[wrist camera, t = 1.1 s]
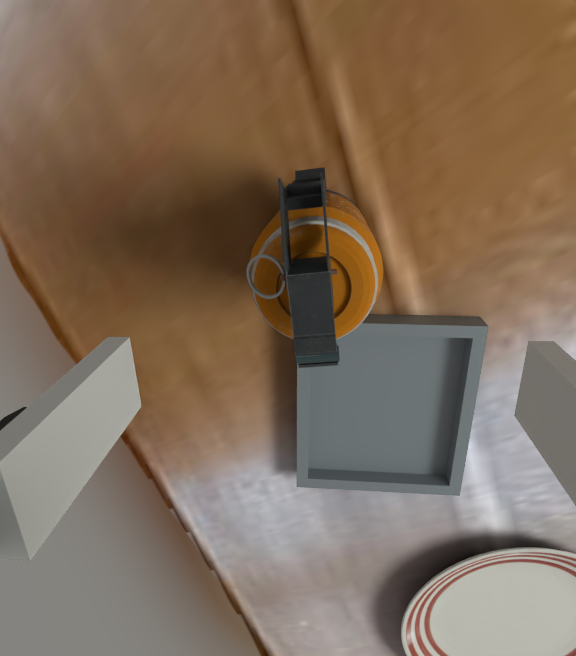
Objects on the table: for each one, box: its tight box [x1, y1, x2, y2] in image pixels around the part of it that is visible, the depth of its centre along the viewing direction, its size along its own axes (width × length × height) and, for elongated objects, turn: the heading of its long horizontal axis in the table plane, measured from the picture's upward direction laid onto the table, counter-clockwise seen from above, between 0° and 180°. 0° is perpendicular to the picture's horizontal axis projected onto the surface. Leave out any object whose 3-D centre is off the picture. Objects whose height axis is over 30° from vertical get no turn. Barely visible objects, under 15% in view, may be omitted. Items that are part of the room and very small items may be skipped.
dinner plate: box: [401, 547, 576, 656], centre depth 56 cm, size 27×27×3 cm
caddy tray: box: [297, 314, 489, 496], centre depth 46 cm, size 19×17×2 cm
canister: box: [246, 168, 383, 368], centre depth 32 cm, size 9×11×20 cm
